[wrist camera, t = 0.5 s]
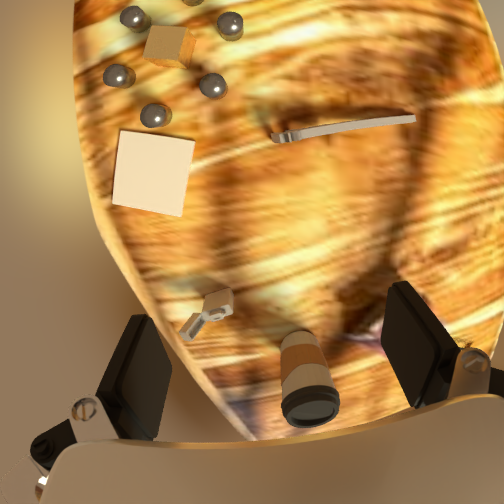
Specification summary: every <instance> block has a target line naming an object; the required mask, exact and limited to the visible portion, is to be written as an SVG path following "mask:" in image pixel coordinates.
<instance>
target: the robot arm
mask: <svg viewBox="0 0 504 504" xmlns="http://www.w3.org/2000/svg"><path fill="white" fill-rule="evenodd" d="M381 345H382V347H383V349H384V351H385V353H386V355H387V357H388V359H389V361H390V364H391V366H392V368H393V370H394V372H395V374H396V376H397V378H398V380H399V383H400V385H401V387H402V389H403V391H404V393H405V396H406V398H407V400H408V402H409V404H410V406H411V407H413V406H414V407H415V410H412V411H409V412H406V413H402V414H399V415H395V416H392V417H389V418H385V419H381V420H377V421H374V422H370V423H366V424H362V425H357V426H353V427H348V428H344V429H339V430H333V431H328V432H323V433H317V434H311V435H304V436H297V437H289V438H281V439H272V440H261V441H247V442H226V443H181V442H159V441H153V438H156V437H157V435H158V431H159V426H160V421H161V417H162V412H163V408H164V403H165V399H166V394H167V390H168V386H169V382H170V378H171V373H172V365H171V362H170V360H169V358H168V355H167V353H166V351H165V349H164V346H163V344H162V342H161V339H160V337H159V334H158V332H157V330H156V327H155V324H154V322H153V320H152V318H151V317H148V316H147V315H146V314H138V315H132V316H131V318H130V320H129V322H128V324H127V326H126V328H125V330H124V332H123V334H122V336H121V338H120V340H119V343H118V345H117V347H116V349H115V351H114V353H113V356H112V358H111V360H110V362H109V364H108V367H107V369H106V371H105V373H104V376H103V378H102V380H101V382H100V385H99V387H98V389H97V392H96V395H95V396H94V395H90V394H88V395H83V396H80V397H78V398H77V399H75V400H74V401H73V402H72V404H71V405H70V407H69V410H68V416H69V419H67V420H65V421H64V422H62V423H60V424H58V425H57V426H55V427H53V428H51V429H50V430H48V431H46V432H44V433H42V434H41V435H39V436H37V437H36V438H35V439H34V441H33V442H32V444H31V449H30V453H31V455H30V456H28V455H25V456H24V457H23V458H22V459H21V460H20V461H19V462H18V463H17V464H16V465H15V466H14V467H13V468H12V469H11V470H10V471H9V472H8V473H7V474H6V475H5V476H4V477H3V478H2V480H1V482H0V491H1V493H2V495H3V497H4V499H5V500H6V502H7V503H8V504H504V371H502V370H499V369H496V368H492V367H491V361H490V358H489V356H488V355H487V354H486V353H485V352H483V351H482V350H480V349H477V348H472V347H470V348H465V349H463V350H462V351H461V350H460V349H459V347H458V346H457V344H456V343H455V341H454V340H453V339H452V337H451V336H450V335H449V333H448V332H447V330H446V329H445V328H444V326H443V325H442V324H441V322H440V321H439V320H438V319H437V317H436V316H435V315H434V313H433V312H432V311H431V309H430V308H429V307H428V306H427V304H426V303H425V302H424V301H423V299H422V298H421V297H420V296H419V294H418V293H417V292H416V291H415V290H414V288H413V287H412V286H411V285H410V283H409V282H408V281H400V282H395V283H393V284H392V287H389V289H388V295H387V302H386V309H385V315H384V321H383V327H382V333H381Z"/></svg>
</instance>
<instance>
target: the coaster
mask: <svg viewBox="0 0 504 504" xmlns="http://www.w3.org/2000/svg"><path fill="white" fill-rule="evenodd" d="M195 142H196V141H192V140H186V139H180V138H174V137H168V136H161V135H154V134H147V133H140V132H132V131H123V130H122V131H121V133H120V139H119V146H118V153H117V161H116V169H115V179H114V189H113V201H112V204H117V205H122V206H127V207H133V208H138V209H143V210H148V211H153V212H158V213H163V214H168V215H173V216H178V217H181V216H182V212H183V206H184V200H185V194H186V189H187V183H188V178H189V172H190V167H191V162H192V157H193V152H194V147H195Z"/></svg>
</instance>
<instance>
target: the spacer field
mask: <svg viewBox="0 0 504 504" xmlns="http://www.w3.org/2000/svg"><path fill="white" fill-rule="evenodd" d="M183 1H184V3H185V4H186V5H188V6H197V5H199V4H201V3H202V2H203V1H204V0H183ZM120 22H121V23H122V24H123V25H125V26H126V27H128V28H129V29H131V30H132V31H134V32H136V33H142V32H144V31H146V30H147V29H148V28H149V27H150V25H151V18H150V17H149V16H148V15H147V14H146V13H145V12H144V11H143V10H142V9H140V8H139V7H138V6H130V7H128V8H126V9H125V10H123V12H122V13H121V15H120ZM217 25H218V28H219V31H220V34H221V36H222V38H223V39H225V40H227V41H236V40H238V39H240V38H241V37H242V35H243V19H242V17H241V16H240V15H239V14H238V13H236V12H226V13H224V14H222V15H221V16H220V17H219V18H218V21H217ZM135 80H136V74H135V72H134V71H133V70H132V69H129V68H127V67H124V66H121V65H118V64H113V65H110V66H109V67H108V68H107V69H106V70H105V72H104V74H103V81H104V83H105V84H106V85H108V86H112V87H117V88H123V89H126V88H129V87H131V86H132V85H133V84H134V82H135ZM199 87H200V90H201V92H202V93H203V94H204V95H205V96H207V97H209V98H210V99H214V100H218V99H221V98H223V97H224V96H225V95H226V93H227V91H228V86H227V84H226V82H225V80H224V78H223V77H222V76H221V75H219V74H216V73H210V74H207V75H205V76H204V77H203V78H202V79H201V81H200V85H199ZM171 119H172V111H171V109H170V108H169V107H167V106H165V105H158V104H149V105H147V106H145V107H144V108H143V110H142V111H141V114H140V120H141V122H142V124H143V125H144V126H146V127H148V128H154V127H163V126H166V125H167V124H169V123H170V121H171Z"/></svg>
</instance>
